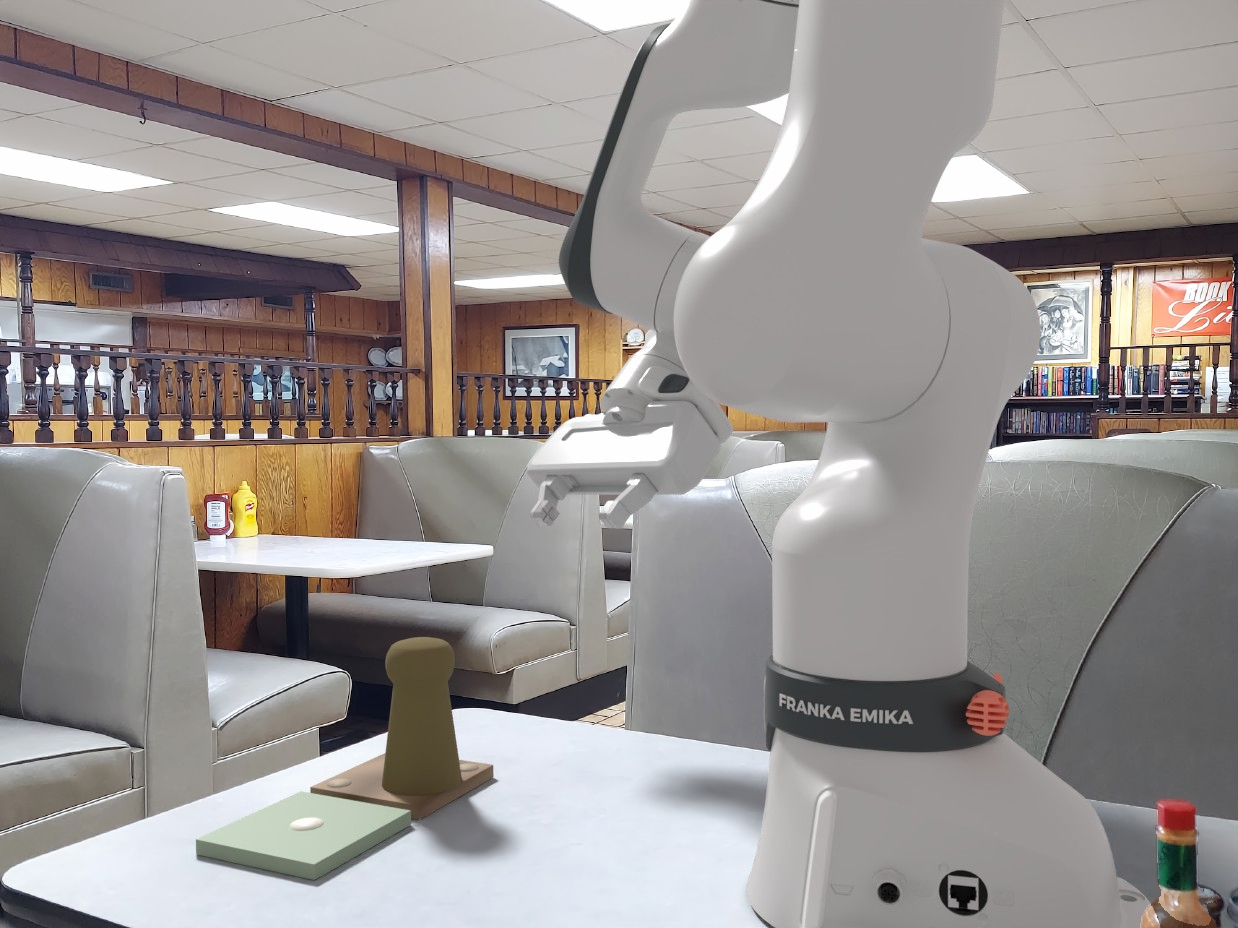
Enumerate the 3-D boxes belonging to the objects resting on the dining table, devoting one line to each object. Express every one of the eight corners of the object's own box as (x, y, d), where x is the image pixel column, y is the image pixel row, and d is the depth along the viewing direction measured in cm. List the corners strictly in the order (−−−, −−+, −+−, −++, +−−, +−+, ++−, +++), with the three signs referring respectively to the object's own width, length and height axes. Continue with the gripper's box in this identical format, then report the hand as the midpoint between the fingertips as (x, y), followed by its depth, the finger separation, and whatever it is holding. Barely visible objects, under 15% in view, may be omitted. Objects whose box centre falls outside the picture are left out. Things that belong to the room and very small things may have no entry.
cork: (469, 769, 83) (467, 631, 83) (452, 796, 77) (450, 647, 76) (394, 768, 83) (392, 631, 83) (371, 795, 77) (369, 647, 77)
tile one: (411, 824, 74) (410, 809, 74) (314, 879, 65) (313, 863, 65) (301, 804, 78) (301, 790, 78) (196, 853, 69) (195, 838, 69)
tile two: (493, 776, 84) (493, 763, 84) (419, 819, 75) (419, 804, 75) (392, 761, 88) (392, 749, 88) (310, 799, 79) (310, 786, 79)
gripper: (559, 394, 104) (481, 497, 97) (712, 377, 88) (631, 498, 82) (595, 438, 107) (521, 542, 100) (748, 429, 91) (673, 550, 85)
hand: (572, 522), depth 91 cm, fingers open, 8 cm apart
